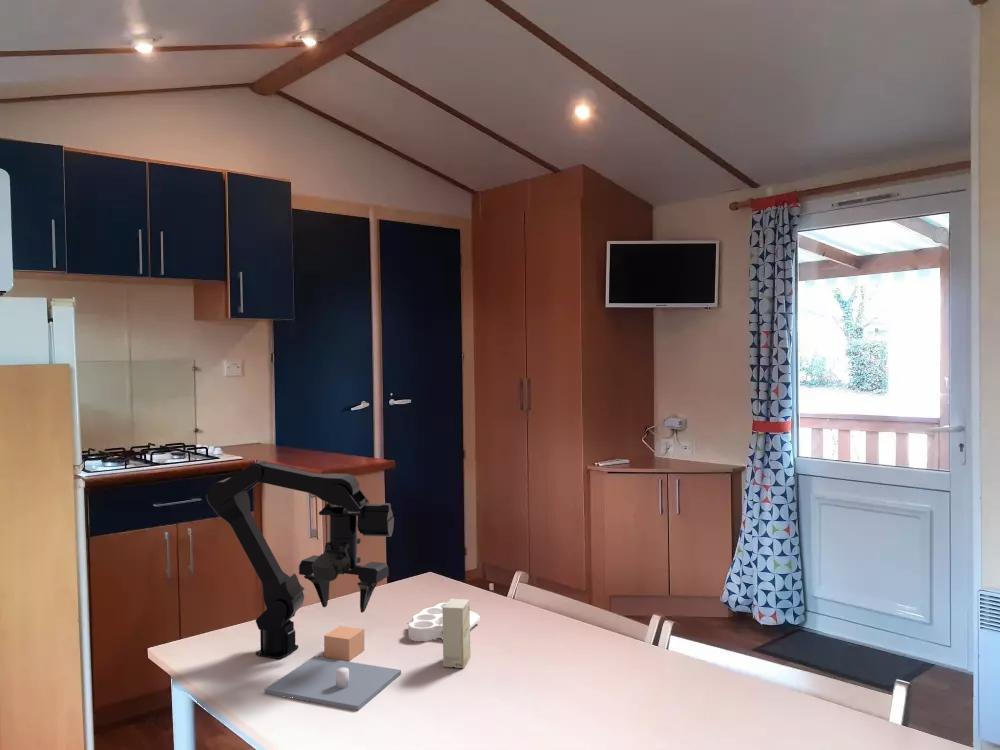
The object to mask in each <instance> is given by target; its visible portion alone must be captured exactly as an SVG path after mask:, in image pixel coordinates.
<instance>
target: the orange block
mask: <svg viewBox="0 0 1000 750" xmlns="http://www.w3.org/2000/svg"><path fill="white" fill-rule="evenodd" d="M323 643H324V644H323V647H324V648H323V649H324V650H323V651H324V653H323V658H329V659H335V660H341V661H348V662H351V660H353V659H355V658H356V657H357V656H358V655H360V654H362V653H363V652H364V651H366V650H365V644H366V643H365V628H359V627H352V626H350V627H349V626H343V625H339V626H338V627H336V628H334V629H332V630H331V631H329V632H327V633H326V634H324V635H323Z"/></svg>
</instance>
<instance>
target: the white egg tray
mask: <svg viewBox="0 0 1000 750" xmlns="http://www.w3.org/2000/svg"><path fill="white" fill-rule="evenodd" d="M445 604H446V602H440V603H437V604H436V605H434V606H432V607H426V608H424V609H421V611H420V612H419V613H417V614H414V615H413V616H412V620H410V621H408V622H406V624H407V625H408V626H407V627H408V630H407V631H408V639H409V640H410V639H411V640H410V641H412V640H414V641H413V642H416V641H427V642H429V641H428V640H431V641H433V640H432V639H434V640H436V639H435V638H443V609H442V608H443V606H444V605H445ZM480 622H481V617H480V615H479V614H477V613H476V612H474V611H471V610H470V630H471V629H473V627H474V626H476V625H477V624H479V623H480Z"/></svg>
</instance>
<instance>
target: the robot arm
mask: <svg viewBox="0 0 1000 750" xmlns="http://www.w3.org/2000/svg"><path fill="white" fill-rule="evenodd" d="M259 483H262V484H267V485H272V486H274V487H275V486H276V487H281V488H284V489H285V488H286V489H289V490H290V489H291V490H294V491H299V492H304V493H308V494H311V495H314V497H317V498H318V499H320V500H322V501H323V502H326V504H325V505H324V507H323V508H322V509H321V510H319V512H318V514H319V516H329V517H328V520H329V523H328V525H329V527H328V528H329V529H328V531H329V532H328V533H329V534H328V535H329V537H328V540H329V541H326V542H325V545H324V551H323V553H321V554H320V555H314V554H313V555H311V556H309V557H306V558H305V559H302V560H301V561H300V562H299V564H298V574H299V575H301V576H303V579H306V580H308V581H310V582H311V583H312V584H313V586H314V588H315V591H316V593H317V596H318V598H319V601H320V603H321V607H322V608H326V607H328V602H329V594H330V582H333V581H335V580H336V579H337V578H338V575H345V574H347V575H355V576H358V577H357V578H358V579H359V580H360V581H359V582H357V585H358V588H359V592H360V593H359V594H360V595H359V609H360V613H364V612H365V611H366V609H367V606H368V605H369V601H370V599H371V597H372V595H373V592H374V590H375V588H376V586H377V585H378V584H379V583H380V582H382V581H383V580H384V579H386V578H389V576H390V575H389V574H390V572H389V571H390V569H389V566H388V565H387V563H386V562H377V561H370V562H367V563H366V564H364V565H358V564H359V563H361V557H360V556H358V545H359V544H361V537H358V532H359V534H362V536H363V537H383V538H384V537H388V538H389V537H392V536H393V532H394V526H395V525H394V524H395V517H394V516H393V515H394V513H393V510H392V506H391V505H392V504H391V503H389V502H385V503H370V501H369V500H368V498H367V496H366V495H365V493H363V491H362V490H361V488H360V487H361V486H360V482H359V481H358V479H357V478H356V477H355V476H354V475H353V474H351V473H316V472H310V471H307V470H301V469H297V468H292V467H288V466H283V465H279V464H275V463H269V462H267V461H265V460H259V461H255V462H253V463H250V464H249V465H248V466H247V467H246V468H244V469H243V470H242V471H240V472H238V473H236V474H235V475H233V476H231V477H227V478H225V479H222V480H220V481H217V482H215V483H213V484H211V485H210V486H209V488H208V489H207V493H206V501H207V503H208V504H209V506H210V507H211V508H212V509H213V511H214V512H215V514H216V515H217V516H219V517H220V518H221V519H222V520H223V521H225V523H226V522H227V523H228V525H230V527H231V529H232V531H233V533H234V535H235V537H236V539H237V540H238V542H239V544H240V545H241V548H242V549H243V551H244V553H245V555H246V557H247V559H248V561H249V562H250V564H251V566H252V568H253V570H254V572H255V574H256V576H257V577H258V579H259V581H260V583H261V589H262V599H263V602H264V605H265V608H266V609H265V610H264V611H263V612H262V613H261V614H260V615H259V616H258V617H257V618H256V619H255V623H256V626H257V629H258V630H259V631H260V632H259V633H260V649H259V650H257V651H256V652H255V655H256V656H260V657H261V656H262V657H265V658H266V657H268V658H273V659H283V658H285V657H286V656H287V655H289V654H291V653H292V652H294V651H296V650H297V649H299V646H300V645H299V644H296V630H295V629H294V627H295V624H294V621H292V620H291V619H292V618H293V617H295V615H296V613H297V612H298V610H299V609H301V607H302V605H304V602H305V601H304V600H305V595H304V590H305V588H304V586H302V585H301V584H300V582H299V578H298V576H297V574H296V573H293V574H292V575H291V576H289V575H288V574H287V573H286V572H284V570H283V569H282V568H281V566H280V565H279V562H278V560H277V559H276V557H275V556H274V555H275V554H274V553H273V552H272V549H271V548H270V546H269V544H268V542H267V540H266V539H265V536H264V535H263V533H262V531H261V529H260V527H259V526H258V523H257V521H256V520H255V518H254V517H253V515H252V512H251V511H252V510H251V501H250V496H249V493H248V491H250V489H253V488H254V487H255V486H256V485H258V484H259Z"/></svg>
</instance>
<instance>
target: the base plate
mask: <svg viewBox="0 0 1000 750" xmlns="http://www.w3.org/2000/svg"><path fill="white" fill-rule="evenodd" d="M400 674H401V675H402V670H401V669H398V668H397V669H396V668H390V667H385V666H377V665H373V664H372V665H371V664H365V663H359V662H353V661H346V660H340V659H333V658H327V657H321V656H317V655H315V656H313V657H311V658H309V659H308V660H306V661H305V662H304V663H302V664H301V665H299V666H297V667H296V668H294V669H293V670H291V671H290V672H288V673H287V674H286V675H284V676H283V677H281V678H279V679H278V680H276V681H275V682H273V683H271V684H270V685H269V686H267V687H265V688H264V694H266V693H267V694H266V695H271V694H273V695H272V696H276V695H278V696H277V697H282V696H285V697H284V698H287V697H291V698H290V699H293V698H295V699H294V700H298V699H302V700H301V701H303V700H308V701H307V702H309V701H311V703H314V702H317V703H316V704H320V703H322V704H321V705H325V704H326V705H325V706H330V707H331V706H332V707H337V708H343V709H347V710H353V711H359V710H361V709H362V708H363V707H364V706H365V705H367V704H368V703H369V702H371V700H372V699H374V698H375V697H376V696H377V695H379V694H380V693H381V692H382V691H383V690H384V689H385V688H387V687H388V686H389V685H391V683H393V682H394V681H395V680H397V678H398V677H400V676H401V675H400ZM292 697H293V698H292Z"/></svg>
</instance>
